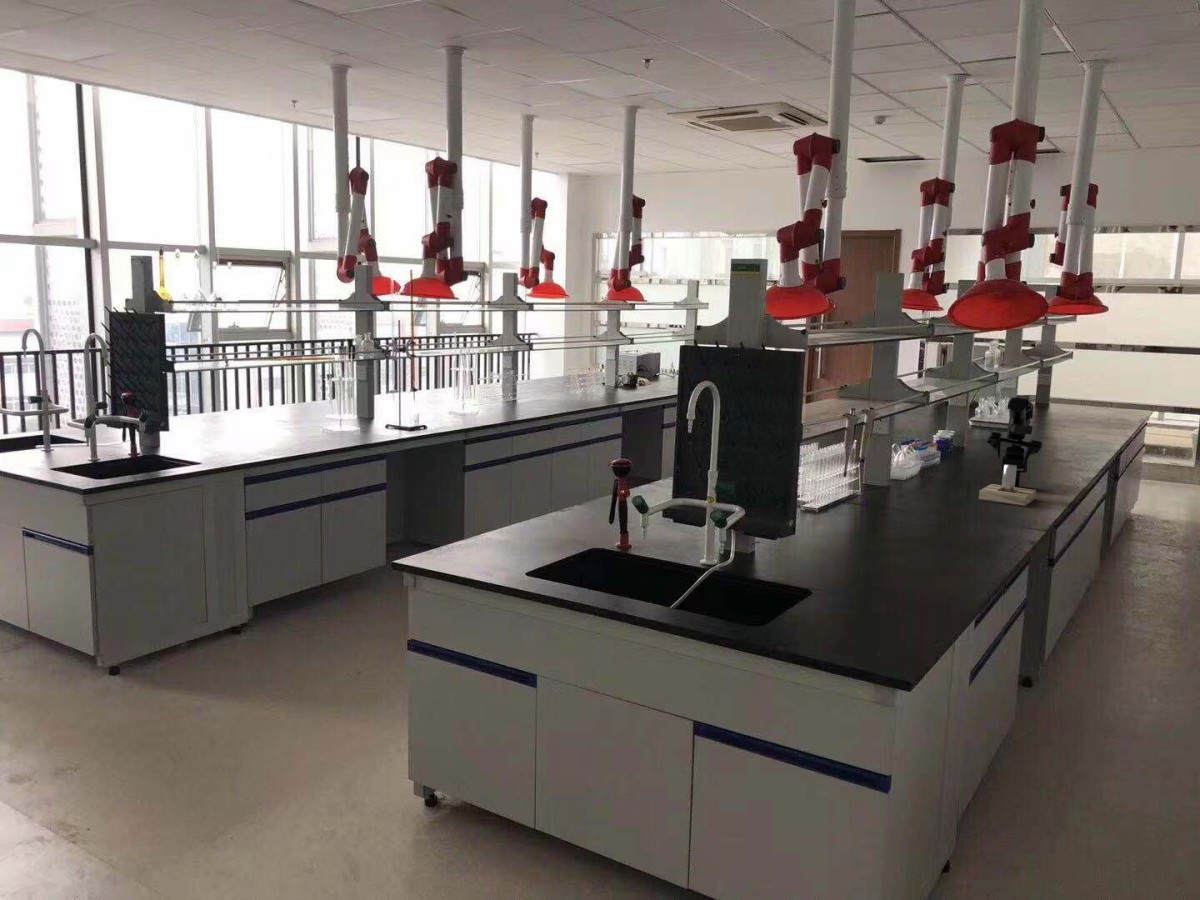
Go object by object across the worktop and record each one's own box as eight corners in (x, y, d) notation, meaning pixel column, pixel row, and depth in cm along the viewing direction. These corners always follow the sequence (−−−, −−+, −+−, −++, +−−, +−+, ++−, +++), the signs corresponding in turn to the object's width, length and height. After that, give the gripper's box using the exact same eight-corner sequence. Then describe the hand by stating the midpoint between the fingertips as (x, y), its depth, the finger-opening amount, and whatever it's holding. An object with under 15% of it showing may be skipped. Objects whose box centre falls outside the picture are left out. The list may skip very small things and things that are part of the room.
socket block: (990, 492, 355) (991, 483, 355) (1034, 499, 346) (1035, 490, 345) (978, 499, 343) (979, 490, 342) (1024, 506, 333) (1025, 497, 333)
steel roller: (998, 496, 346) (1001, 464, 344) (1009, 496, 347) (1012, 464, 345) (1004, 499, 342) (1007, 466, 340) (1015, 499, 342) (1019, 466, 340)
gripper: (996, 410, 350) (990, 446, 344) (1048, 421, 346) (1044, 457, 339) (988, 424, 360) (983, 459, 354) (1039, 435, 355) (1035, 470, 349)
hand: (1011, 461), depth 349 cm, fingers open, 9 cm apart
